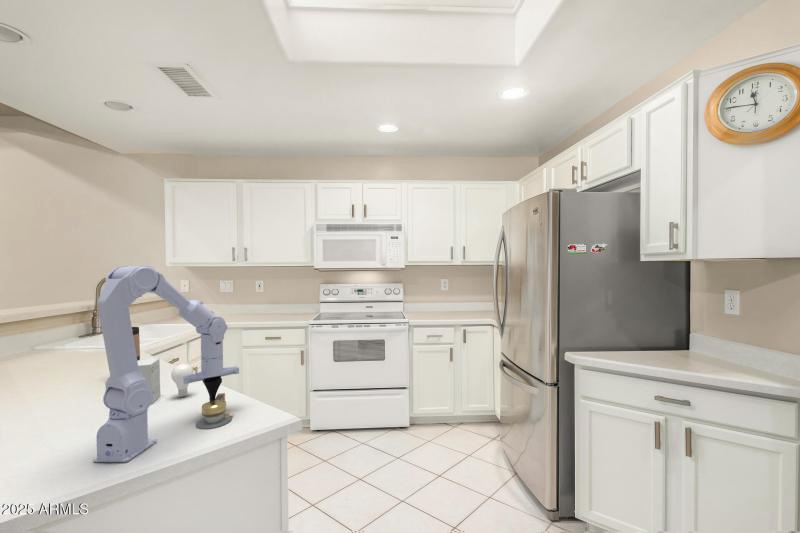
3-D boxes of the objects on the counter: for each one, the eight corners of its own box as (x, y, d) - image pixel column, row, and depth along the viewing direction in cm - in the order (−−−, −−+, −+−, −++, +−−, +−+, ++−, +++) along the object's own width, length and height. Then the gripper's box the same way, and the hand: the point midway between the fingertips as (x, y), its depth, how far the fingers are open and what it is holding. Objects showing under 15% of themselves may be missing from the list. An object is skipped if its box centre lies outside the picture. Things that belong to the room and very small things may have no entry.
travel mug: (119, 377, 141) (118, 327, 141) (142, 374, 144) (141, 326, 144) (113, 382, 134) (112, 330, 134) (137, 379, 137) (136, 328, 137)
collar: (223, 415, 96) (223, 406, 96) (199, 418, 94) (199, 409, 94) (232, 399, 107) (232, 391, 107) (211, 401, 106) (210, 393, 106)
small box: (139, 398, 117) (138, 359, 117) (161, 396, 119) (160, 357, 119) (128, 407, 109) (127, 366, 109) (151, 404, 111) (150, 364, 111)
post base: (221, 429, 93) (221, 420, 93) (188, 429, 94) (188, 420, 94) (238, 414, 102) (238, 406, 102) (208, 414, 103) (208, 406, 103)
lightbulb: (183, 400, 114) (182, 367, 114) (167, 399, 115) (166, 366, 115) (198, 393, 120) (197, 361, 120) (182, 392, 121) (182, 361, 121)
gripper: (233, 350, 111) (234, 393, 111) (180, 358, 101) (181, 405, 101) (241, 354, 106) (241, 399, 106) (186, 363, 96) (186, 412, 96)
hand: (212, 402), depth 103 cm, fingers closed, pressing on collar
